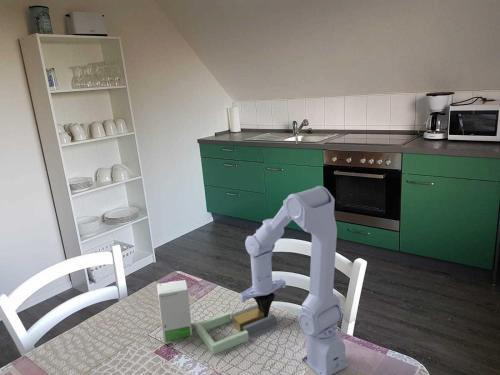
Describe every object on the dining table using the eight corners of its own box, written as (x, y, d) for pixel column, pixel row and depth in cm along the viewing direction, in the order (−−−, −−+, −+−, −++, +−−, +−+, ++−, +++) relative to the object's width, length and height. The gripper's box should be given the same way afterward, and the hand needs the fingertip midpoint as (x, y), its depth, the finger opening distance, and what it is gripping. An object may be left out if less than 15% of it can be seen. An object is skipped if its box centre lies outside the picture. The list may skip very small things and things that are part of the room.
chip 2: (264, 323, 115) (264, 314, 114) (252, 328, 113) (252, 318, 112) (257, 316, 118) (257, 307, 118) (246, 321, 117) (245, 312, 116)
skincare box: (163, 345, 110) (156, 295, 106) (162, 331, 116) (155, 283, 112) (194, 338, 112) (188, 289, 108) (191, 325, 119) (185, 278, 114)
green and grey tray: (279, 331, 113) (279, 319, 112) (213, 358, 104) (212, 346, 103) (258, 311, 123) (257, 300, 122) (196, 334, 114) (195, 323, 113)
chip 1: (252, 328, 113) (252, 318, 112) (240, 333, 111) (239, 323, 111) (246, 321, 117) (245, 312, 116) (233, 325, 115) (233, 316, 114)
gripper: (275, 261, 120) (277, 301, 124) (232, 275, 114) (236, 317, 117) (289, 270, 114) (290, 312, 118) (244, 285, 108) (247, 329, 111)
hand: (264, 315), depth 117 cm, fingers closed
